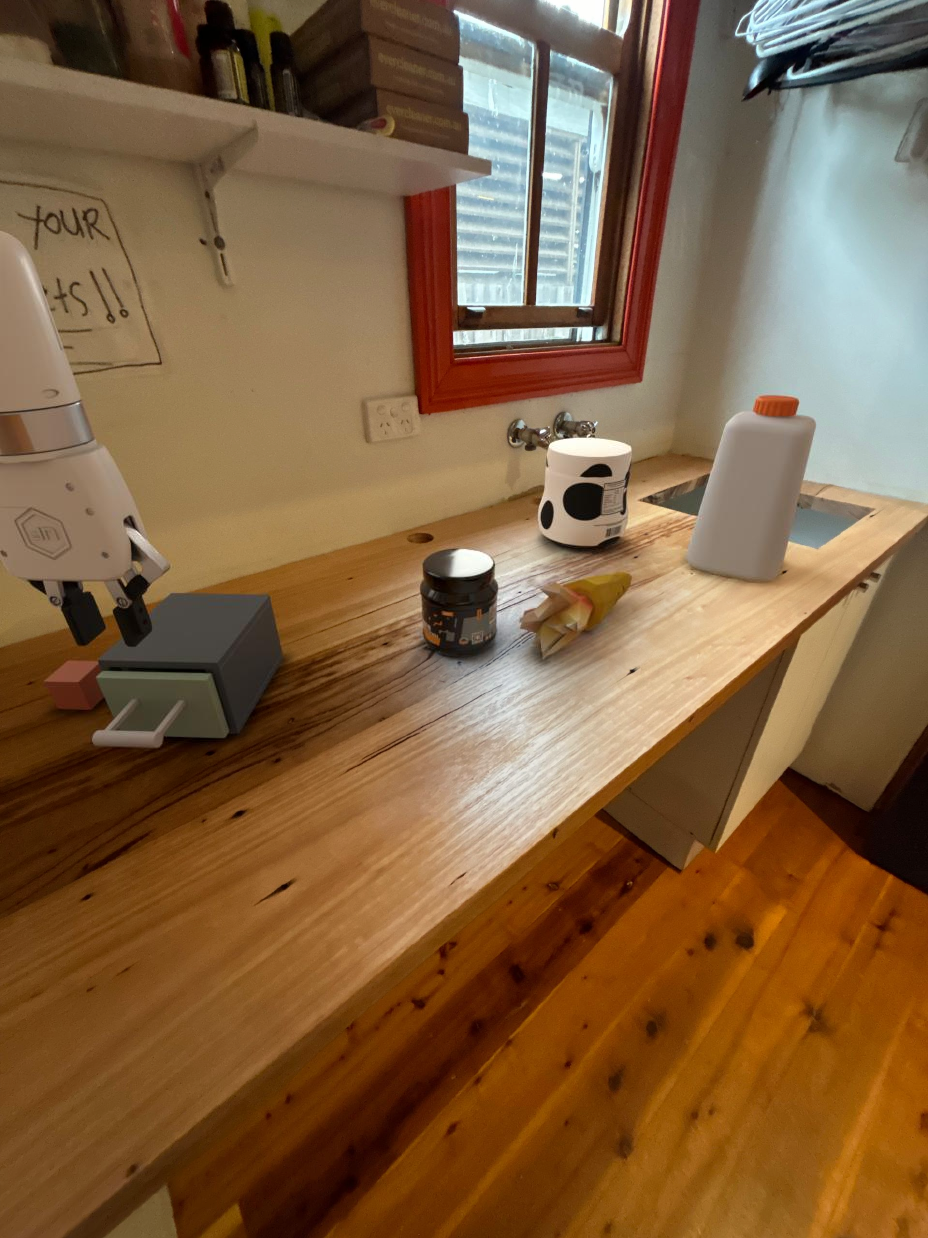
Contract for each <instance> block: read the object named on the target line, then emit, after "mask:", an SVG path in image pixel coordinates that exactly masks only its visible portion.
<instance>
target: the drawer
mask: <svg viewBox="0 0 928 1238" xmlns="http://www.w3.org/2000/svg"><path fill="white" fill-rule="evenodd" d="M120 668H121V670H122V671H102V672H101V673H100V674H99V675H98V676H97V677H96V679H97V682H98V684H99V686H100V688H101V690H102V693H103V695H104V699H105V702H106V703H107V706H108V708H109V711H110V713H111V715H112V717H113V719H112V720H111V722H110V723H109V724H108V725H107V726H106V727H105V728H104V729H98V730H96V731H95V732H94V733H93V734H92V738H91V739H92V741H91V742H92V744H93V746H95V747H109V748H111V747H114V748H118V747H119V748H143V749H144V748H146V749H147V748H148V749H158V748H160V747H161V746H162V744H163V743H164V737H173V738H175V737H176V738H206V739H208V738H209V739H225V738H226V737H227V735H229V734H228V732H229V728H228V725H227V722H226V719H227V718H226V715H225V712H224V709H223V706H222V702H221V699H220V696H219V693H218V689H217V686H216V683H215V680H214V677H213V673H212V669H171V668H128V667H120ZM117 729H118V730H117Z"/></svg>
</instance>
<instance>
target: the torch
mask: <svg viewBox="0 0 928 1238" xmlns="http://www.w3.org/2000/svg"><path fill="white" fill-rule="evenodd" d="M632 580H633V577H632V575H631V574H630V573H629V572H626V571H622V570H618V571H615V572H613V573H607V574H598V575H591V576H588V577H584V578H580V579H577V580H573V581H569V582H566V583H563V584H560V583H558V582H557V581H554V582H552V583H549V584H546V585H544V586H541V587H539V589H538V590H540V591H541V592H542V593H543V594H544V595H546V596H547V597H546V599H544V601H542V602H541V603H540V604H539V605H538V606H537V607H534V608H530V609H526V610H524V611H523V615H522V616H520V617H519V621H518V623H519V624H520V627H519V629H520V630H524V631H528V632H531V633H535V637H534V640H533V643H532V647H535V646H537V645H540V648H541V653H542V660H545V659H546V658H547V657H549V655H553V654H554V653H555V652H557V651H559V650H561V649H562V648H564V647H565V646H568V644H569V643H570V642H572V641H573V640H574V639H575V638H576V637H577V636H578V635H580V634H581V633H582V632H583V631H585V632H588V631H590V630H592V629H593V628H595V627H596V626H598V625H599V624H600V623H602V621H603V620H604V619H605V618H606V616H608V614H609V613H610V611H612V609H613V608H614V607H615V605H616V604H617V602H618V601H619V600H620V599H621V598H622V597H623V596H624V595H625V594H626V593H627V591H628V590H629V588H630V586H631V585H632Z"/></svg>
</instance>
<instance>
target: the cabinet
mask: <svg viewBox="0 0 928 1238" xmlns="http://www.w3.org/2000/svg"><path fill="white" fill-rule="evenodd" d="M148 614H149V617H150V619H151V623H152V631H151V633H149V634H148V635H147V636H146V637H145V638H144V639H143V640H142V641H141V642H140V643H139V644H138V645H137V646H136V647H128V646H127V645H126V644H125V642H124V639H123V637H122V636H121V638H120V639H118V641H116V642H115V643H114V644H113V645H112V646H111V647H110V648H108V649H107V650H106V651H105V652H104V653H103V654H102V655H101V656H100V657H98V658H97V660H96V661H98V663H99V666H100V668H101V670H102V671H122V670H121V668H120V667H128V668H171V669H212V673H213V677H214V680H215V683H216V686H217V689H218V693H219V696H220V699H221V702H222V706H223V709H224V712H225V715H226V718H227V719H226V722H227V725H228V728H229V732H228V734H227V735H239V734H240V733H241V731H242V729H243V728H244V726H245V724H246V723H247V721H248V719H249V717H250V715H251V714H252V712H253V710H254V709H255V707H256V705H257V704H258V702H259V700H260V699H261V697H262V696H263V694H264V692H265V691H266V689H267V687H268V686H269V684H270V682H271V680H272V678H273V677H274V676H275V674H276V672H277V671H278V668H279V667H280V665H281V664H282V661H283V660H284V654H283V650H282V645H281V640H280V636H279V631H278V627H277V622H276V617H275V613H274V608H273V604H272V600H271V595H270V594H263V593H261V594H258V593H255V594H254V593H202V592H201V593H199V592H197V593H196V592H193V593H191V592H170V593H169V594H168V595H167V596H166V597H165V598H164V599H162V601H161V602H159V604H157V605H156V606H155V607H154V608H153V609H152V610H151V611H150V612H148Z"/></svg>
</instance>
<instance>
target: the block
mask: <svg viewBox="0 0 928 1238" xmlns="http://www.w3.org/2000/svg"><path fill="white" fill-rule="evenodd" d="M101 672H102V670H101V668H100V666H99V663H98V661H97V660H67V661H66V662H64V663H63V664H62V665H61V666H60V667H59V668H58V669H56V670H55V671H53V672H52V673H51V674H50V675H49V676H48V677H47V678H45V679H44V680H43V683H44V685H45V688H46V689H47V691H48V693H49V695H50V696H51V699H52V701H53V702H54V705H55V706H56V708H57V710H80V711H91V710H92V711H93V709H94V708H95V707H96V706H97V705H98V704H99V703H100V702H101V701H102V700H103V699H105V697H104V695H103V693H102V690H101V688H100V686H99V684H98V682H97V679H96V677H97V676H98V675H99V674H100V673H101Z"/></svg>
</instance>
